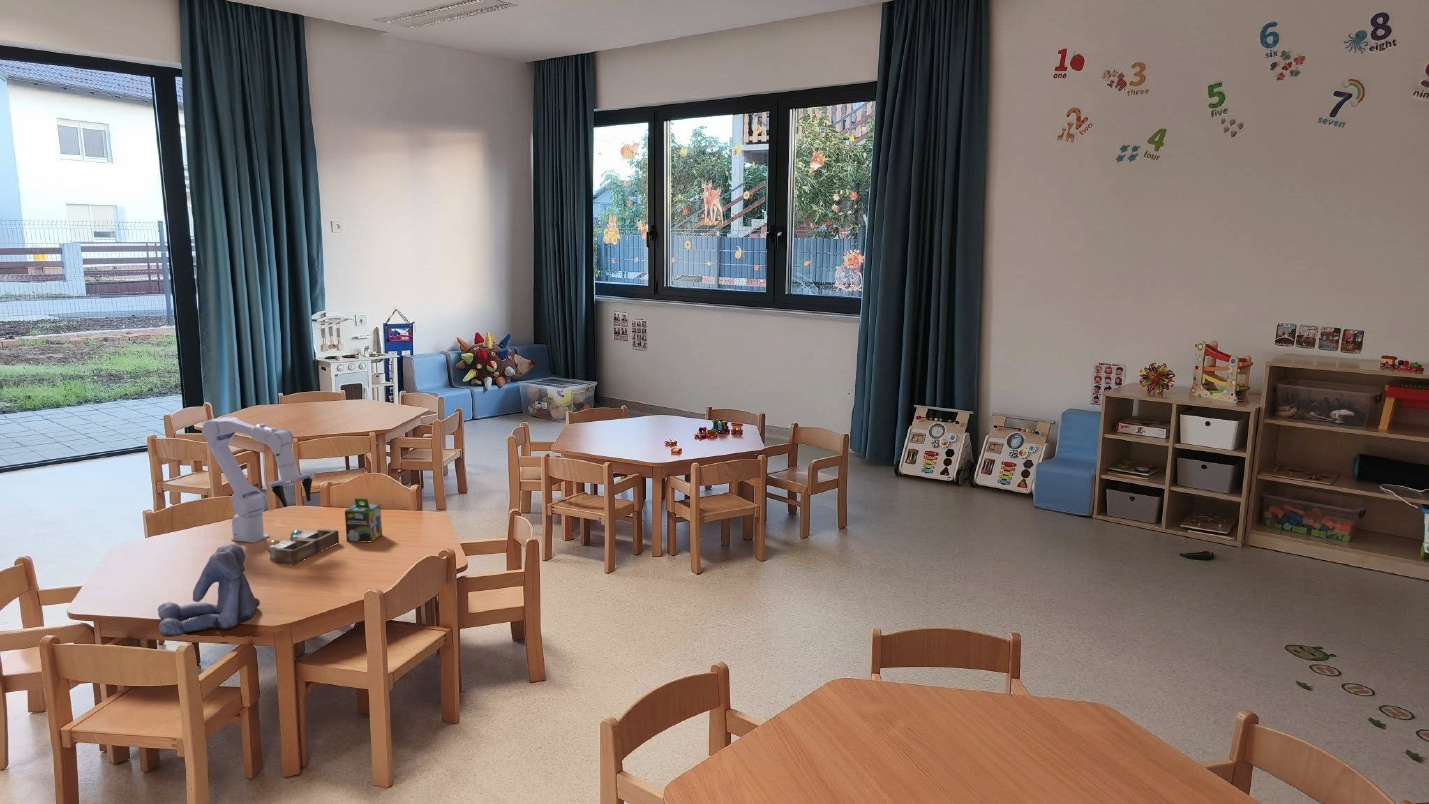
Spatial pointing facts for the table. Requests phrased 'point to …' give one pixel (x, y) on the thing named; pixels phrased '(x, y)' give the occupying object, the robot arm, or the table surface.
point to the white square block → (280, 546)
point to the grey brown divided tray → (307, 547)
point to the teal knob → (303, 535)
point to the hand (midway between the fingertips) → (297, 503)
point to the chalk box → (363, 521)
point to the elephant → (232, 597)
